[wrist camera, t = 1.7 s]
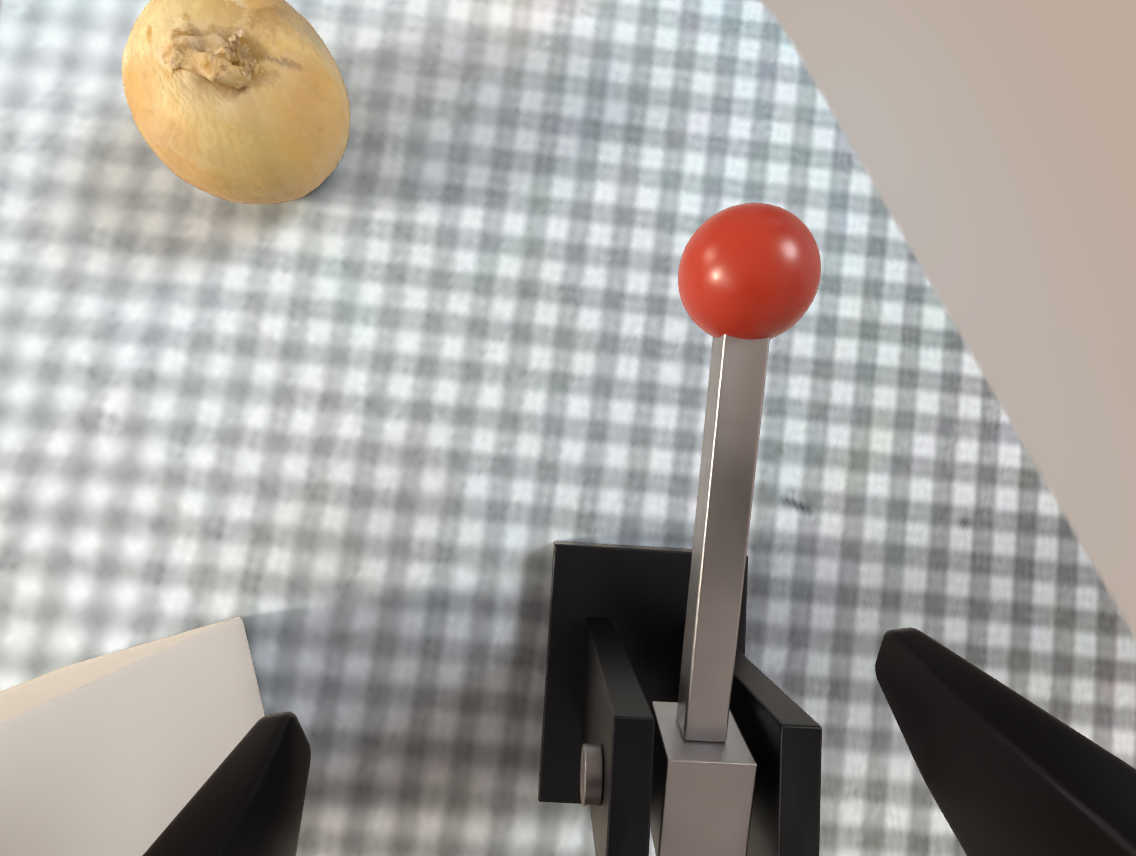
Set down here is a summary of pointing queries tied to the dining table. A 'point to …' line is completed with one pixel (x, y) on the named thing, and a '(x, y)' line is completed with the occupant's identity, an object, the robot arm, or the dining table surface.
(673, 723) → the lever
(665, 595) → the bracket
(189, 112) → the onion
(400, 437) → the dining table surface
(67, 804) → the milk carton
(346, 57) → the dining table surface
